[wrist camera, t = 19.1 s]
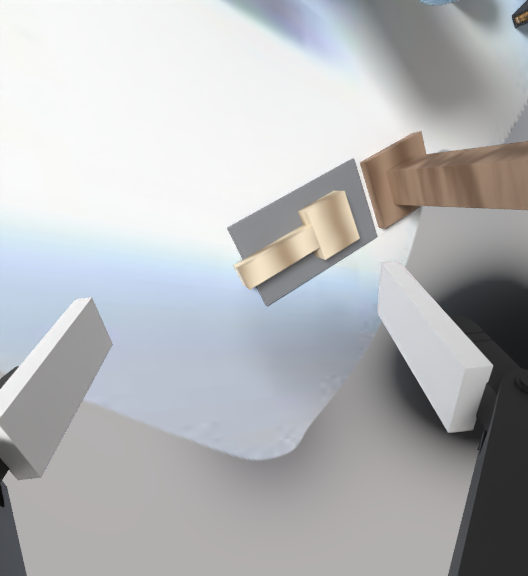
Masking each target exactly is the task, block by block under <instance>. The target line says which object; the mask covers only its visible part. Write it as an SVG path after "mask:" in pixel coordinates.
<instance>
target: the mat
mask: <svg viewBox="0 0 528 576" xmlns="http://www.w3.org/2000/svg"><path fill="white" fill-rule="evenodd" d="M332 191H345V194H346V197H347V200H348V203H349V206H350V209H351V212H352V216H353V219H354V222H355V225H356V228H357V231H358V234H359V237H360V239H358V240H357V241H355V242H353V243H352V244H350V245H349V246H347V247H345V248H344V249H342V250H340V251H339V252H337V253H336V254H334V255H332V256H331V257H329V258H328V259H326V260H324V259H321V258H318V257H316V256H315V254H314V251H313V252H311V253H310V254H308V255H306V256H305V257H303V258H301V259H300V260H298V261H296V262H295V263H293V264H291V265H290V266H288V267H287V268H285V269H283V270H282V271H280V272H278V273H277V274H275V275H273V276H272V277H270V278H268V279H267V280H265V281H264V282H262V283H260V284H259V285H257V286H256V287H257V289H258V291H259V293H260V295H261V297H262V299H263V301H264V303H265V305H266V306H268V305H270V304H271V303H273V302H274V301H276V300H277V299H279V298H281V297H282V296H284V295H285V294H287V293H289V292H290V291H292V290H293V289H295V288H297V287H298V286H300V285H301V284H303V283H304V282H306V281H308V280H309V279H311V278H312V277H314V276H316V275H317V274H319V273H320V272H322V271H323V270H325V269H327V268H328V267H330V266H331V265H333V264H335V263H336V262H338V261H339V260H341V259H343V258H344V257H346V256H347V255H349V254H350V253H352V252H354V251H355V250H357V249H358V248H360V247H362V246H363V245H365V244H366V243H368V242H369V241H371V240H373V239H374V238H376V237H377V234H376V231H375V227H374V224H373V220H372V217H371V214H370V210H369V207H368V204H367V200H366V197H365V194H364V190H363V187H362V184H361V180H360V177H359V174H358V170H357V167H356V164H355V160H354V159H351V160H349V161H347V162H345V163H344V164H342V165H340V166H338V167H336V168H334V169H333V170H331V171H329V172H327V173H325V174H324V175H322V176H320V177H318V178H316V179H315V180H313V181H311V182H309V183H307V184H306V185H304V186H302V187H300V188H298V189H297V190H295V191H293V192H291V193H289V194H288V195H286V196H284V197H282V198H280V199H279V200H277V201H275V202H273V203H271V204H269V205H268V206H266V207H264V208H262V209H260V210H259V211H257V212H255V213H253V214H251V215H250V216H248V217H246V218H244V219H242V220H241V221H239V222H237V223H235V224H233V225H232V226H230V227H228V228H227V229H228V231H229V233H230V235H231V237H232V239H233V241H234V243H235V245H236V247H237V249H238V251H239V253H240V255H241V257H242V259H243V260H244V259H245V258H247V257H249V256H250V255H252V254H254V253H256V252H257V251H259V250H261V249H262V248H264V247H266V246H268V245H269V244H271V243H273V242H274V241H276V240H278V239H280V238H281V237H283V236H285V235H286V234H288V233H290V232H292V231H293V230H295V229H297V228H298V227H300V226H302V225H303V223H302V221H301V218H300V216H299V213H298V211H299V210H301V209H302V208H304V207H306V206H308V205H310V204H311V203H313V202H315V201H317V200H318V199H320V198H322V197H324V196H325V195H327V194H329V193H331V192H332Z"/></svg>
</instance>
